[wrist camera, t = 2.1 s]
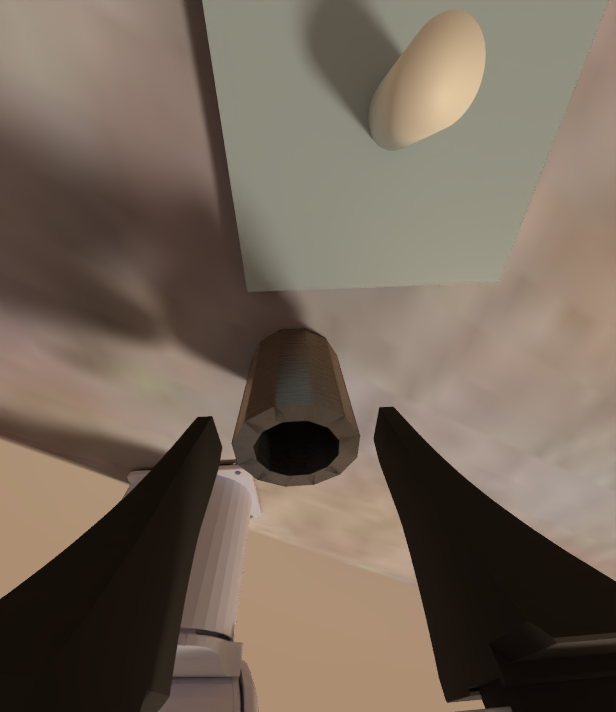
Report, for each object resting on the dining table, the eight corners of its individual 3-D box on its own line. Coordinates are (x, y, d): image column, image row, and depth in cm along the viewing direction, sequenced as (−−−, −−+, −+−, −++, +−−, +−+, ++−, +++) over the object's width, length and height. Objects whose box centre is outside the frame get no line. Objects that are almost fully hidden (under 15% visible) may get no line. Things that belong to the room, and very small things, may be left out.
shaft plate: (250, 285, 12) (234, 318, 9) (176, -218, 6) (20, -787, 2) (484, 277, 13) (554, 305, 9) (655, -200, 6) (1076, -663, 3)
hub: (259, 399, 16) (244, 489, 11) (247, 330, 14) (221, 408, 9) (334, 395, 16) (353, 482, 11) (338, 327, 14) (365, 401, 9)
